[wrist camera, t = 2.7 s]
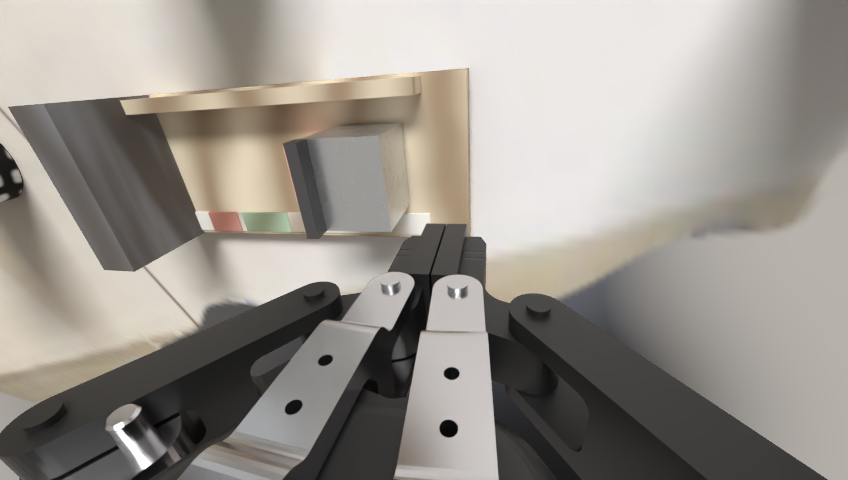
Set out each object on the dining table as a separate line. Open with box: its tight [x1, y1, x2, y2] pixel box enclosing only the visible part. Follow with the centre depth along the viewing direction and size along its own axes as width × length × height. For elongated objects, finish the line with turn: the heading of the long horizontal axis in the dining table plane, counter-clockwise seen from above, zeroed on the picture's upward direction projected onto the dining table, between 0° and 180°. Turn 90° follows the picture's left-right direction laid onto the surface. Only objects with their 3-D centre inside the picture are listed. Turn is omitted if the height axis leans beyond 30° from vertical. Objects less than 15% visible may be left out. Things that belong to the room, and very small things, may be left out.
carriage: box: [283, 123, 410, 239], centre depth 22 cm, size 5×6×6 cm
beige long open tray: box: [8, 68, 471, 272], centre depth 24 cm, size 28×12×8 cm, turn 94°
